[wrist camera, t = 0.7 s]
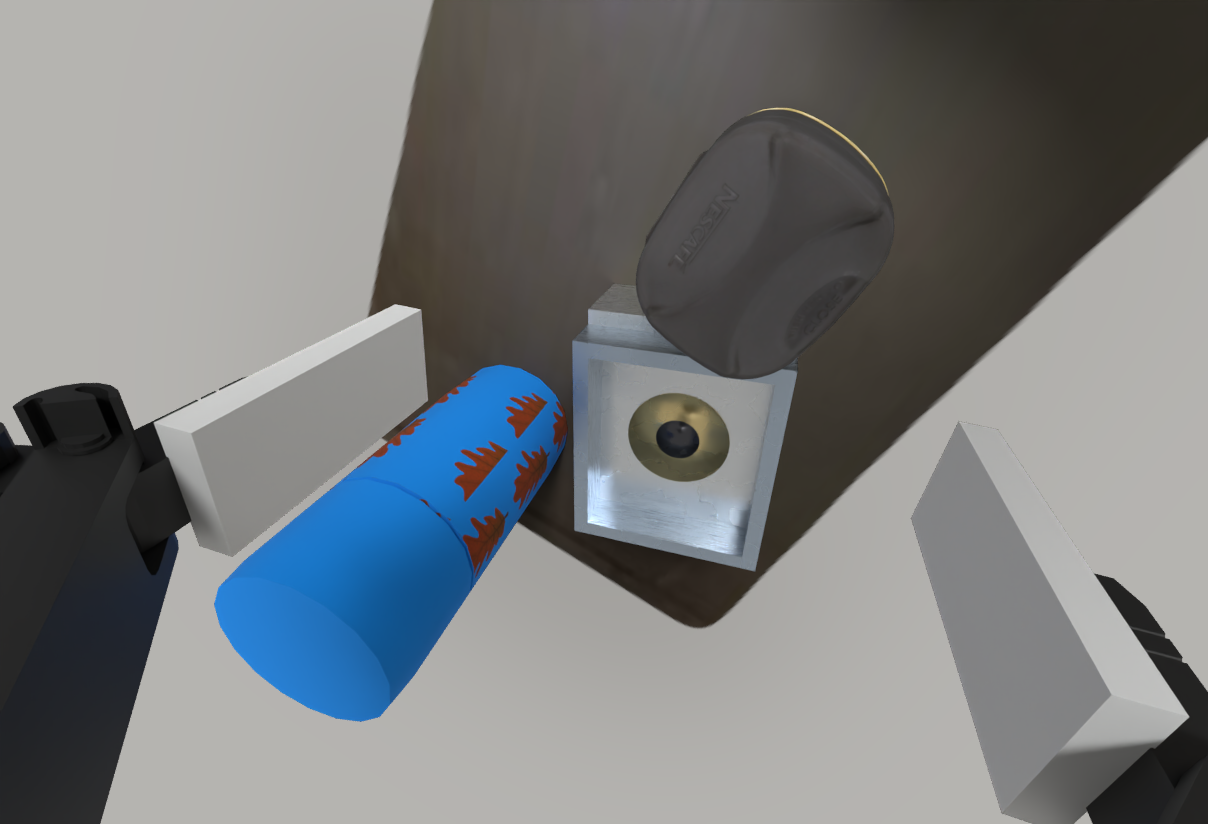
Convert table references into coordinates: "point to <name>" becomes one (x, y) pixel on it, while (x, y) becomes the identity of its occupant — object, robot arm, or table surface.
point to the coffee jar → (764, 244)
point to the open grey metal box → (671, 440)
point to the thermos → (393, 548)
